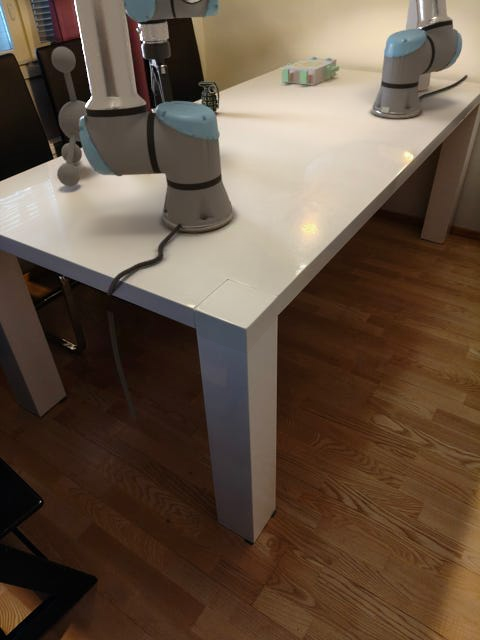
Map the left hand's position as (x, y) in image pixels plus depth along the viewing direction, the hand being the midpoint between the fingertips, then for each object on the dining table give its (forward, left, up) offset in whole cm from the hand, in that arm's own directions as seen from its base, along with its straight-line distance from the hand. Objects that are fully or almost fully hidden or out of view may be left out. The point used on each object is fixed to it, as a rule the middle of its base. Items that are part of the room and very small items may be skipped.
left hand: (166, 124), depth 143 cm
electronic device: (+87, -51, -6) cm, 101 cm away
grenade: (+35, +6, -6) cm, 36 cm away
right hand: (+49, -89, +25) cm, 105 cm away
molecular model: (-23, +7, -6) cm, 25 cm away
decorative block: (+93, -8, -6) cm, 93 cm away
